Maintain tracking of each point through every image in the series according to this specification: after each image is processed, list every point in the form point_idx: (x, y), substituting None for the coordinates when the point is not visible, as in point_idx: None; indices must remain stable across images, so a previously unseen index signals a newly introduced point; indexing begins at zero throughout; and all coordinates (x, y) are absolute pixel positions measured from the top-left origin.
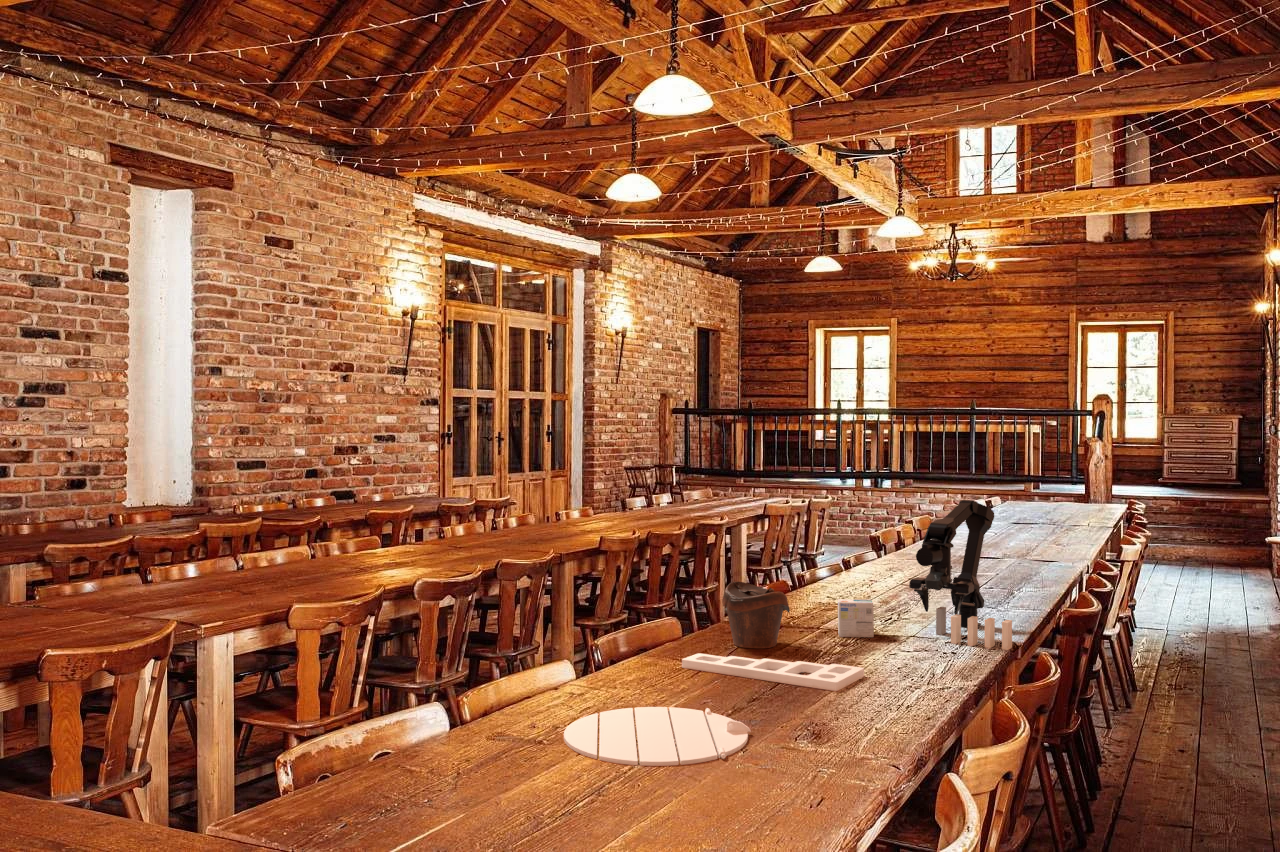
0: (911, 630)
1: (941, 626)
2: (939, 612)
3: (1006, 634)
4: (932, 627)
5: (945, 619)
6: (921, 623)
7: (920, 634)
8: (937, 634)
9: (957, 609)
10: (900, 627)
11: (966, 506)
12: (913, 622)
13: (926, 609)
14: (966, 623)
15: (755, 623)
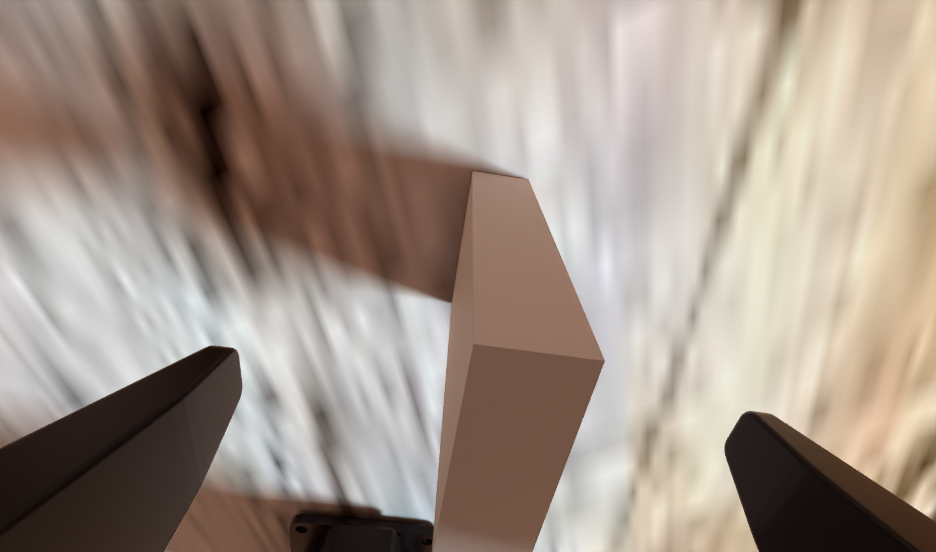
0: (782, 274)
1: (470, 211)
2: (511, 301)
3: None
4: (590, 444)
5: (447, 379)
6: (675, 523)
7: (700, 107)
8: (513, 178)
9: (99, 411)
10: (870, 357)
11: None
12: (731, 531)
13: (780, 435)
14: (346, 538)
15: None
